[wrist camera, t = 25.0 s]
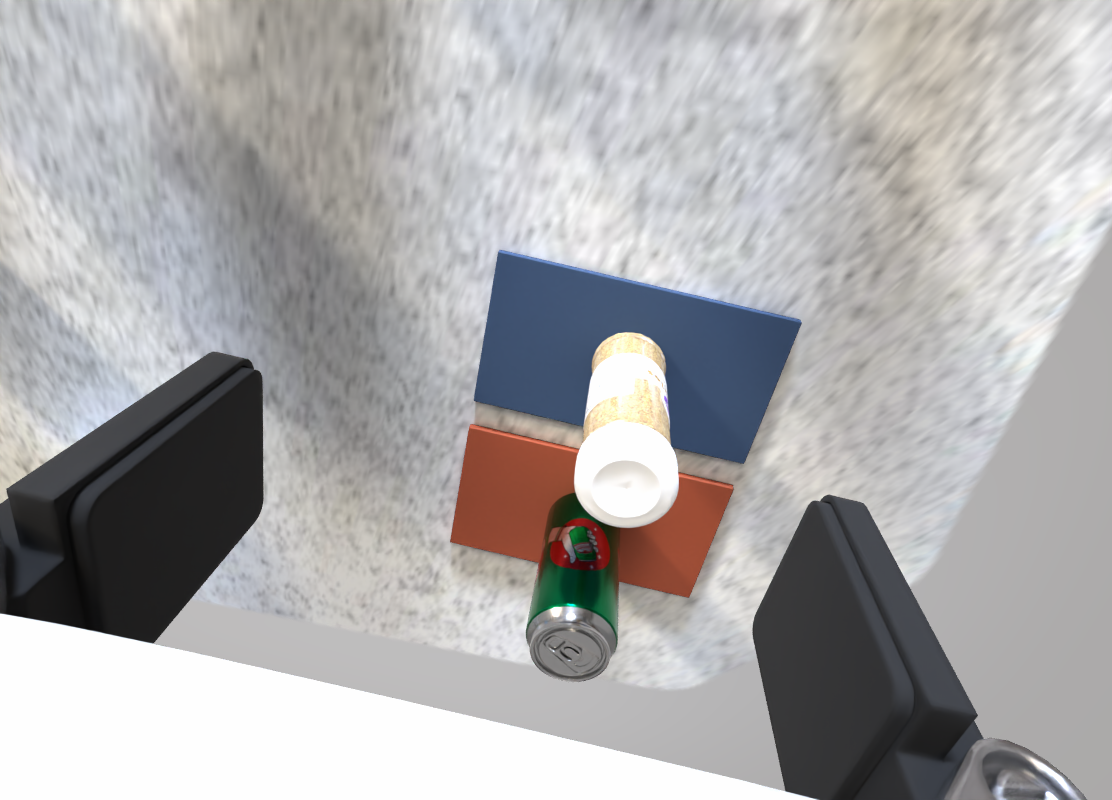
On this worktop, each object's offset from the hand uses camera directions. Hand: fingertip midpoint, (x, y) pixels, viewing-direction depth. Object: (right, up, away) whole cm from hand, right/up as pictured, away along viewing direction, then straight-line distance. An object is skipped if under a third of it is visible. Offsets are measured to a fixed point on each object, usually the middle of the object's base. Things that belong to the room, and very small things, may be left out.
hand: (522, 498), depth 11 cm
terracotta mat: (+3, -6, +35) cm, 35 cm away
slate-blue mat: (+5, +4, +29) cm, 30 cm away
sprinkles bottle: (+5, +4, +29) cm, 30 cm away
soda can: (+3, -6, +34) cm, 35 cm away
